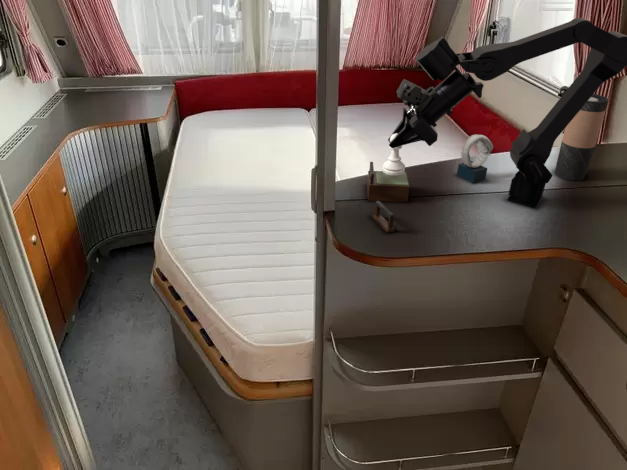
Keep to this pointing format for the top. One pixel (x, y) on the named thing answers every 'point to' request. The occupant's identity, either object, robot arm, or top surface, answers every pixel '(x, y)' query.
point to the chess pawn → (394, 161)
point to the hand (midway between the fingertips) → (389, 144)
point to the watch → (474, 169)
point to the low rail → (380, 220)
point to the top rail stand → (387, 186)
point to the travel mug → (581, 139)
